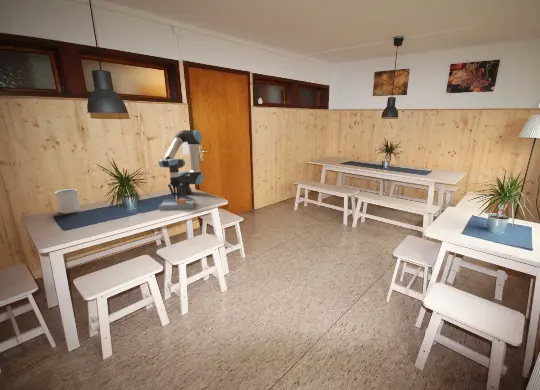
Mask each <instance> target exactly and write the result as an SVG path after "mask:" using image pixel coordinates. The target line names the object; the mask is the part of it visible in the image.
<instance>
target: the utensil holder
mask: <svg viewBox="0 0 540 390" xmlns="http://www.w3.org/2000/svg"><path fill="white" fill-rule="evenodd" d="M54 194H55V197H56V201H57V205H58V209H59V212H60V213H61V214H72V213H76V212H78V211H81V205H80V201H79V200H80V199H79V195H78V189H76V188H68V189H60V190H57V191H55V192H54Z"/></svg>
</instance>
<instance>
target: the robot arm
mask: <svg viewBox="0 0 540 390" xmlns="http://www.w3.org/2000/svg"><path fill="white" fill-rule="evenodd" d="M202 140H203V137H202V134H201V131H199V130H195V129H194V130H193V129H192V130H191V129H190V130H189V129H183V130H181V131H179V132H178V133H177V134H176V135H174V137H173V138H172V143H171V144H170V146H169V148H168V150H167V152H166V153H165V155H164V157H163V158H160V159H159V160H158V165H159V167H160V168H168V169H169V176H170V178H169V179H170V183H168V184H167V186H168V188H169V190H170V193H171V195H172V196H173V197H174V198H173V200H176V203H177V200H178V199H180V196H189V195H191V194H192V193H193V191H192V188H191V186H190V185H196V186H197V185H201V184H203V182H204V174H203V172H202V170H201V169H200V154H199V153H200V152H199V146H200V145H201V143H202ZM184 143H187V145H188V146H189V161H190V165H189V166H190V170H189V171H188V170H185V171H180V169H182V168H183V167H185V165H186V160H184V159H183V158H175V157H176V155H177V153H178V151H179V149H180V147H181V145H183V144H184Z"/></svg>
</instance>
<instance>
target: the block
mask: <svg viewBox="0 0 540 390" xmlns="http://www.w3.org/2000/svg"><path fill="white" fill-rule="evenodd" d="M185 199H186V198H180V197H179V199H178V200H177V205H182V204H185V203H186V200H185Z"/></svg>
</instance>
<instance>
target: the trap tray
mask: <svg viewBox="0 0 540 390" xmlns="http://www.w3.org/2000/svg"><path fill="white" fill-rule="evenodd" d="M185 200H186V203H185V204H182V205H177V203H176V199H163V200H162V203H160V204H159V205H158V210H159V211H162V210H163V211H165V210H166V211H167V210H170V209H171V210H190V209H191V210H193V208H194V206H195V203H196V200H195V198H187V199H186V198H185Z"/></svg>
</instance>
